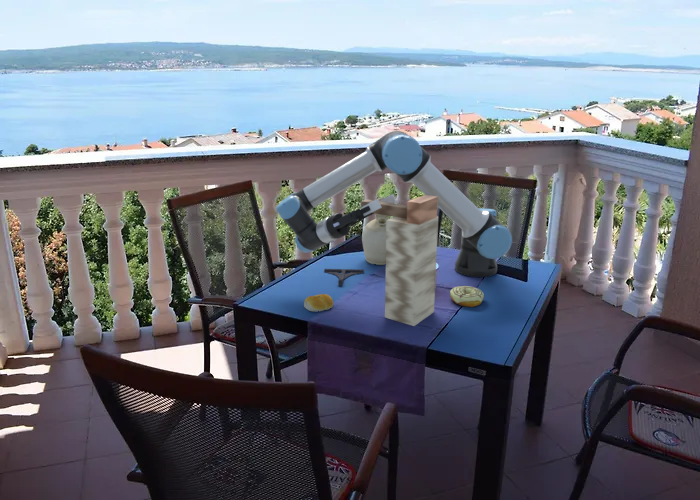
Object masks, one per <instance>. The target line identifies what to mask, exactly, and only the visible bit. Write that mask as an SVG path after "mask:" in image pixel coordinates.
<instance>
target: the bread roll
mask: <svg viewBox="0 0 700 500" xmlns="http://www.w3.org/2000/svg"><path fill="white" fill-rule="evenodd" d="M303 306H304V308H305V310H307V311H308V312H309V311H310V312H315V313H316V312H317V313H318V311H319V312H323V311H325V310H330V308H331V309H332V308H333V307H334V300H333V298H332V296H331V295H329V294H325V293H320V294H315V295H310V296H309V295H308V296H307V297H306V298H305V300H304V303H303Z"/></svg>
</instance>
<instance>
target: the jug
mask: <svg viewBox="0 0 700 500" xmlns="http://www.w3.org/2000/svg"><path fill="white" fill-rule="evenodd" d="M384 198H385V196H383V197H379V198H377V199H378V200H379V201H380V200H382V199H384ZM374 216H375V218H374V219H372V220H370V221H369V222H368V223H366V225H365V226H364V228H363V230H362V233H361V235H362V236H361V241H362V242H361V243H362V249H363V254H364V258H365V261H366V262H367V263H368V264H371V265H374V264H376V266H385V265H384V264H386V223H387V220H388V219H390V216H387V215H381V214H374Z"/></svg>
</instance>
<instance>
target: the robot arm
mask: <svg viewBox="0 0 700 500" xmlns="http://www.w3.org/2000/svg"><path fill="white" fill-rule="evenodd" d="M431 157H432V155H430V154H429V153H428V151H426V149H424V148H423V147H422V145H420V143H419V142H418V141H417V139H416V138H414V137H412V136H411V135H409V134H407V133H406V132H403V131H400V130H394V131H390V132H387V133H386V134H384V135H383V136H382V137H380V138H379V139H377V140H376V141H374V142H372V143H371V144H369V145H368V146H367V147H366V150H365V151H364V152H361V153H360V154H359V155H357V156H356V157H353V158H352V159H351V160H349V161H347V162H346V163H344V164H342V165H340V166H339V167H337V168H336V169H333V170H332V171H331V172H329V173H327V174H326V175H325V174H324V176H322V177H320V178H319V179H317V180H315V181H314V182H312V183H310V184H308V185H307V186H305V187H304V188H302V189H301V190H298V191H297V192H293V193H291V194H289V195H288V196H286V197H285V198H284V199H283V200H282V201H280V202H279V203H278V205H276V207H275V210H276V212H277V213H278V214H279V216H280V219H282V220H283V221H284V222H285V223H286V225H288V227H289V228H290V230H291V231H292V232H293V233H294V234H295V238H294V242H295V244H296V247H297V249H298V250H299V251H300V252H302V253H304V254H305V253H306V254H307V253H310V252H314V251H317V250H319V249H320V248H322V247H324V246H326V245H328V244H330V243H331V244H334V243H335V241H336V240H339V239H341V238H343V237H345V236H347V235H348V234H349V233H350V230H351V227H353V226H355V225H356V224H357V223H360V222H362V221H363V220H364V219H366V218H368V217H370V216H373V215H375V213H372V212H374V211H376V210H378V209H380V208H382V207H381V205H380V202H387V203H393V204H397V200H396V197H395V195H394V193H391V194H390V195H388V196H386V197H384V199H382V200H380V202H379V200H378V198H376V199H374V201H372V202H370V203H369V204H367V205H365V206H363V207H361V206H360V208H357V209H356V210H351V211H350V212H349V213H346V214H343V213H341V212H337V213H334V214H332V215H330V216H328V217H326V218H324V219H322V220H320V221H319V222H316V221H315V220H314V218H312V216H311V215H310V213H309V211H311V210H313V209H314V208H316V207H318V206H319V205H321V204H323V203H324V202H326V201H328V200H330V199H331V198H333V197H334V196H336V195H338V194H340V193H341V192H343V191H345V190H346V189H349V187H351V186H353V185H355V184H357V183H358V182H360V181H362V180H364V179H365V178H366V177H368V176H370V175H371V174H372V175H373V174H374V173H376V172H383V171H385V170H386V169H389V170H390V171H391V172H393V173H394V174H395V175H396V176H398V177H399V179H401V181H403V182H404V183H405V184H406V183H407V184H408V183H411V184H413V185H414V186H415V187H416V188H417V189H418V190H419V191H420V192H421V193H423V194H424V195H429V196H436V197H438V201H437V208H438V209H439V210H441V211H442V212H443V213H444V214H445V215H446V216H447V217H448V218H449V219H451V221H452V222H454V224H456V226H458V227H459V228H460V229H461V243H460V251H459V253H458V255H457V257H456V260H455V262H454V270H455V271H456V272H457V273H458V274H461V275H463V276H468V277H472V278H473V277H474V278H486V277H491V276H494V275H496V274H497V272H498V262H497V259H499V258H501V257H503V256H505V255H506V254H507V253H508V252H509V250H510V249H511V247H512V244H513V243H512V242H513V237H512V234H511V232H510V230H509V228H508V227H507V226H505V225H503V224H502V223H501V222H500V221H499V220H498V219H497V217H498V216H497V210H495V209H493V208H481V207H480V208H479V207H477V206H476V205H475V204H474V202H472V201H471V200H470V199H469V198H468V197H467V196H466V195H465V194H464V193H463V192H462V191H461V190H460V189H459V188H457V186H456V185H455V184H454V183H453V182H452V181H450V180H449V179H448V177H446V176H445V175H444V174H443V173H442V172H441V171H440V170H439V169H438V168H437V167H436V166H435V165H434V164H433V163H432V161H431Z"/></svg>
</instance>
